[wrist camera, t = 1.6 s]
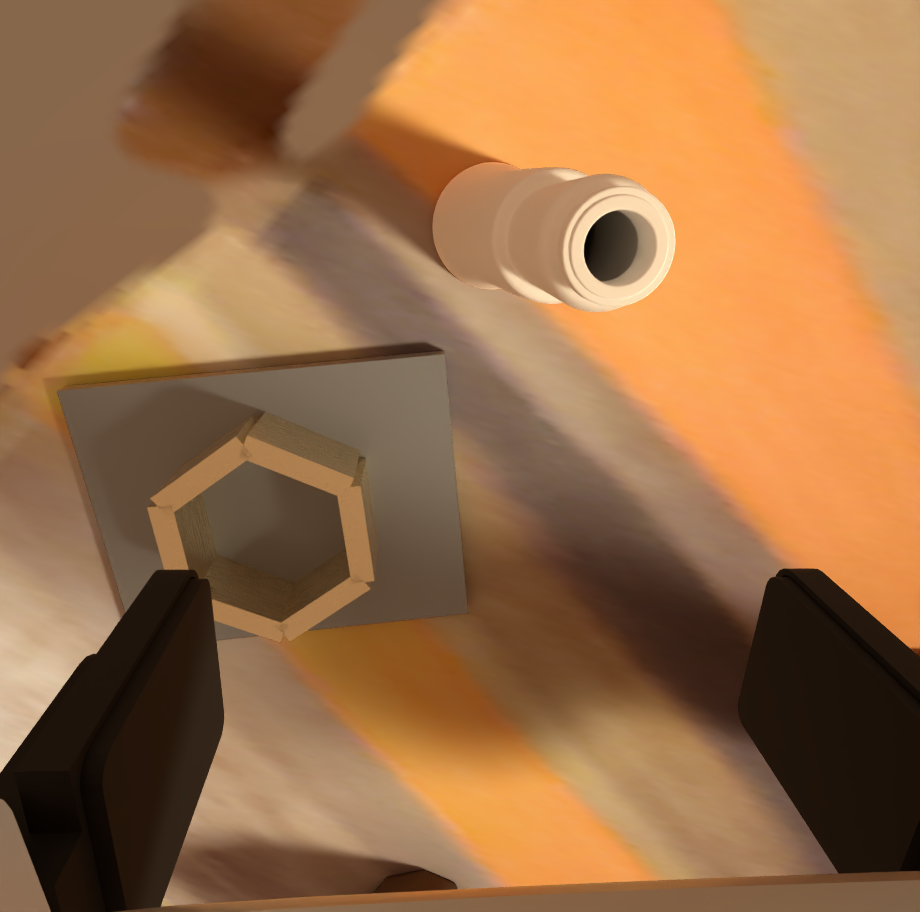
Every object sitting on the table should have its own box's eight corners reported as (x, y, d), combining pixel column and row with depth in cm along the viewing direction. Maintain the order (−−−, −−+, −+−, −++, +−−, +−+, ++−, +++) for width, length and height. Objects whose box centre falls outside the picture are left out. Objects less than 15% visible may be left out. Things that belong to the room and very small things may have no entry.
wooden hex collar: (358, 402, 35) (351, 425, 31) (385, 591, 39) (381, 631, 35) (161, 421, 34) (130, 447, 31) (209, 610, 38) (187, 652, 35)
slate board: (443, 350, 35) (444, 354, 34) (466, 604, 41) (468, 613, 40) (66, 386, 34) (56, 390, 33) (143, 638, 40) (136, 649, 39)
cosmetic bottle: (575, 221, 33) (839, 231, 13) (496, 313, 34) (617, 457, 14) (487, 134, 31) (623, -19, 11) (407, 234, 33) (395, 265, 12)
